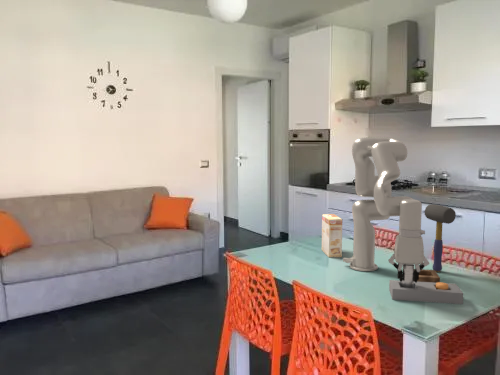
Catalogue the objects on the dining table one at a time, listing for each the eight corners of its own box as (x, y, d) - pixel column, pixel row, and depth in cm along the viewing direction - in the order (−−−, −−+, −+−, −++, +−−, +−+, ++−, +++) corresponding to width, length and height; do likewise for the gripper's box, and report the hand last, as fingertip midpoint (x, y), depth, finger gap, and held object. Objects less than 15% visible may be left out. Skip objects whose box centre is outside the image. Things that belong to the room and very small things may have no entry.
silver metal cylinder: (402, 297, 160) (403, 265, 159) (401, 293, 164) (402, 262, 163) (413, 297, 160) (415, 266, 158) (412, 294, 163) (413, 263, 162)
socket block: (392, 302, 158) (392, 288, 158) (389, 292, 168) (389, 279, 167) (462, 306, 154) (463, 293, 153) (455, 296, 163) (455, 283, 163)
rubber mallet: (454, 274, 189) (457, 206, 185) (440, 276, 186) (443, 208, 183) (433, 266, 200) (436, 202, 197) (420, 268, 198) (423, 203, 194)
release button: (436, 298, 158) (437, 285, 157) (434, 294, 162) (434, 281, 161) (449, 299, 157) (449, 286, 156) (446, 295, 161) (446, 282, 160)
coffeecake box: (342, 257, 217) (343, 219, 215) (328, 257, 217) (328, 219, 214) (334, 249, 232) (334, 213, 230) (321, 249, 231) (321, 214, 229)
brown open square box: (412, 291, 169) (412, 276, 168) (408, 282, 179) (408, 268, 178) (439, 292, 167) (440, 277, 166) (433, 284, 177) (434, 270, 176)
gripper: (432, 231, 161) (429, 279, 163) (384, 230, 164) (383, 276, 167) (436, 236, 154) (434, 285, 156) (386, 234, 157) (385, 282, 159)
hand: (407, 280), depth 161 cm, fingers open, 4 cm apart
